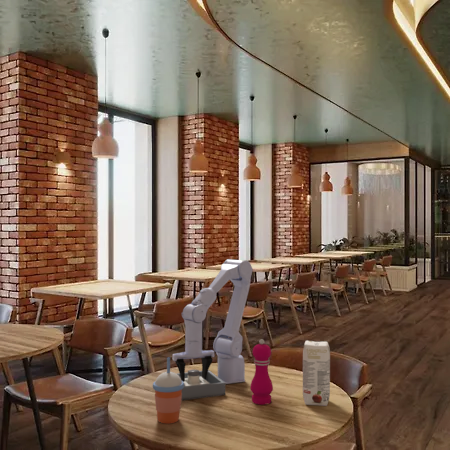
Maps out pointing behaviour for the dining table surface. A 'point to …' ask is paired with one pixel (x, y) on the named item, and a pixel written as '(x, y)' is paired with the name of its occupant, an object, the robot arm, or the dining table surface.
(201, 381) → the inlet socket
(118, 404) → the dining table surface
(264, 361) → the pepper mill
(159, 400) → the cup with straw
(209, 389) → the walled box
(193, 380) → the connector peg
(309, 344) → the juice carton
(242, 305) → the robot arm
